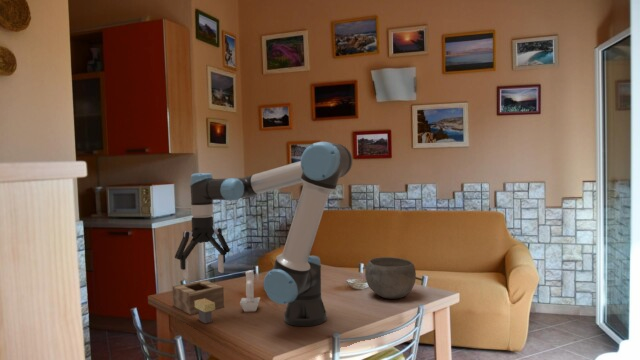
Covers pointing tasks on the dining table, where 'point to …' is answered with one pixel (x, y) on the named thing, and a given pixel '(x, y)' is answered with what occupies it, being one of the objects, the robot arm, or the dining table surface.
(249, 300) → the figurine
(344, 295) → the dining table surface
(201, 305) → the pale yellow block
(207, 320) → the stand
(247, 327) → the dining table surface
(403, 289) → the bowl
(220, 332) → the dining table surface
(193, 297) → the brown wooden box
